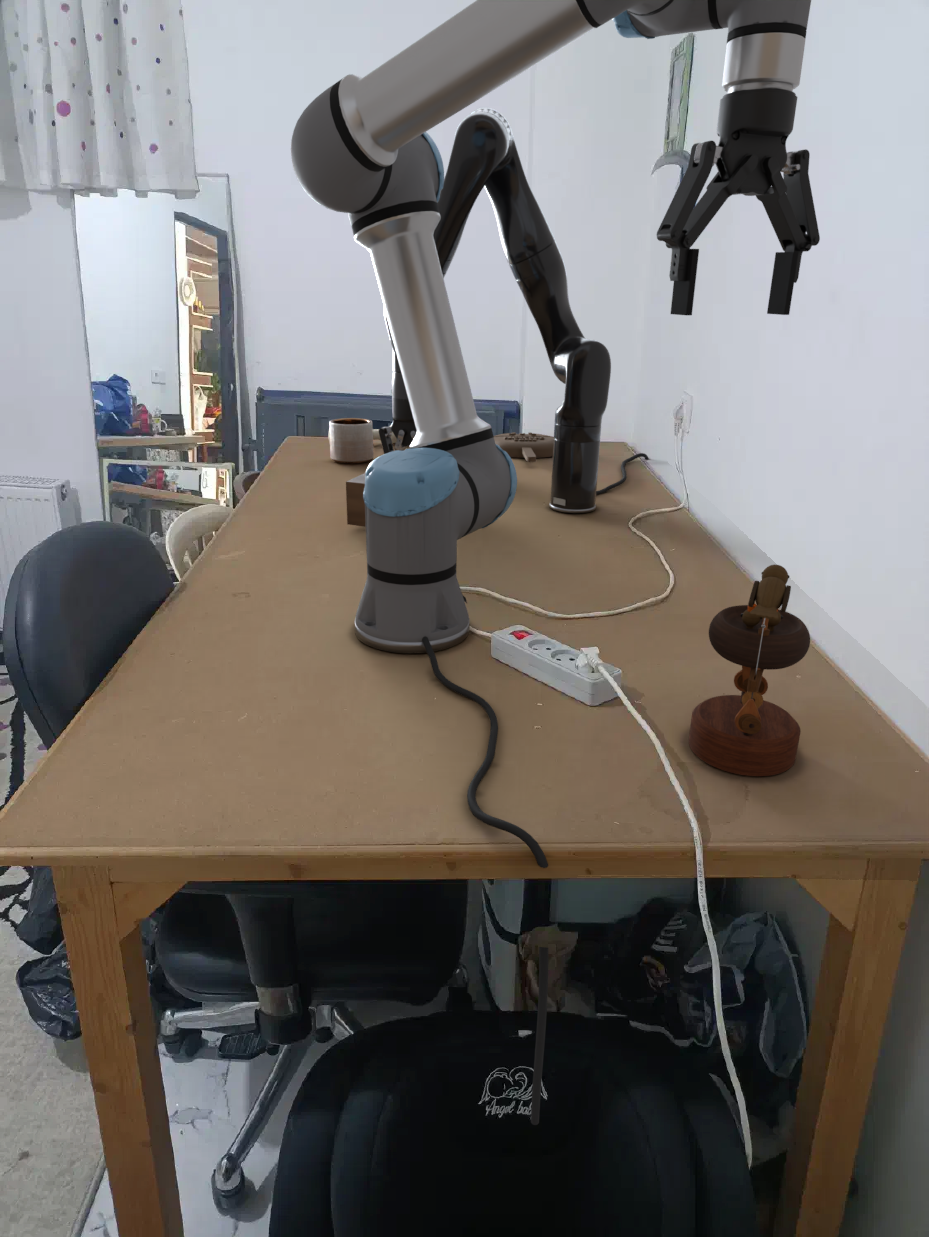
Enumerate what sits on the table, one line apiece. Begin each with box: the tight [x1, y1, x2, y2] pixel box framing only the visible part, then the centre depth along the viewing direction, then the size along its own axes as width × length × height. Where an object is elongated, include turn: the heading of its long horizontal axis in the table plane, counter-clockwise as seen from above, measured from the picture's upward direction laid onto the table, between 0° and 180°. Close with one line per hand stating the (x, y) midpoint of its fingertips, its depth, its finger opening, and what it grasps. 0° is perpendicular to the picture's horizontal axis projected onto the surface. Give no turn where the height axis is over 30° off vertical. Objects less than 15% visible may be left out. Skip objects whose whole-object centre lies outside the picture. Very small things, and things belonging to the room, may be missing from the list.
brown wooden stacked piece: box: [688, 564, 811, 777], centre depth 83 cm, size 15×11×20 cm
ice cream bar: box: [493, 431, 554, 463], centre depth 221 cm, size 21×28×4 cm
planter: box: [328, 417, 375, 464], centre depth 212 cm, size 11×11×10 cm
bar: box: [345, 472, 366, 528], centre depth 165 cm, size 28×5×8 cm, turn 160°
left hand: (730, 315), depth 94 cm, fingers open, 13 cm apart
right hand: (411, 479), depth 175 cm, fingers closed on bar, 4 cm apart
